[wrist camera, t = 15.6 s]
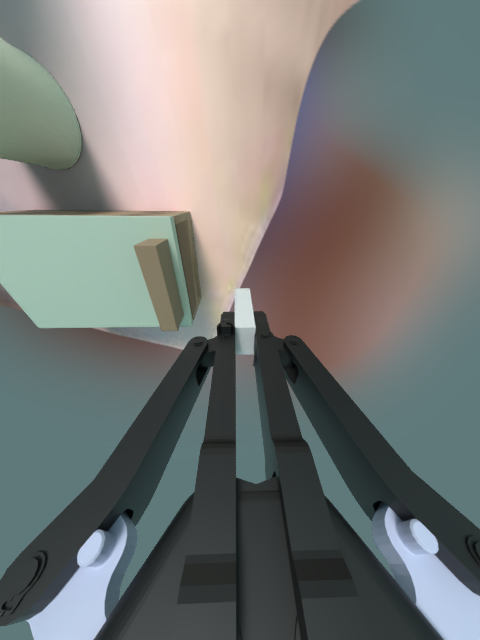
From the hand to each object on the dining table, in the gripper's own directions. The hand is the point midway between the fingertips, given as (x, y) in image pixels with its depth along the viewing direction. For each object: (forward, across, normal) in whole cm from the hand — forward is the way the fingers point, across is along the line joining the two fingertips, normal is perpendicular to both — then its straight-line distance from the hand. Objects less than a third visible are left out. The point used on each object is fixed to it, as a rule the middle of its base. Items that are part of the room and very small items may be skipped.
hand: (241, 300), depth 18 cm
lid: (+6, -18, 0) cm, 19 cm away
